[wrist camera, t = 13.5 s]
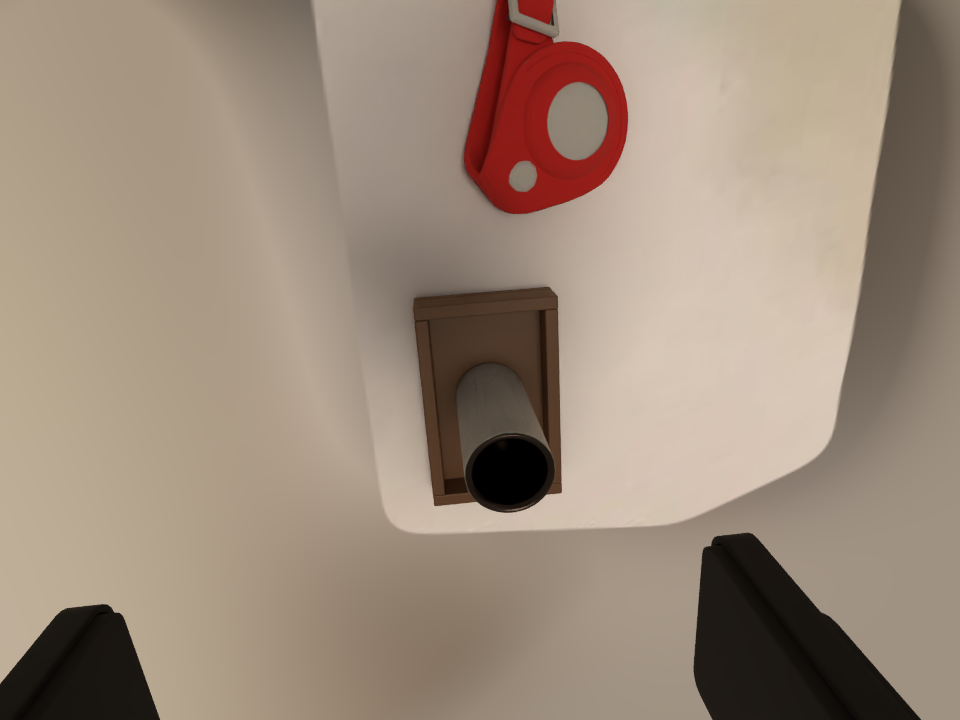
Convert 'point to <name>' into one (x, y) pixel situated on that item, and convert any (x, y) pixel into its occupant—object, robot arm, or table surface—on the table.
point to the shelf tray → (477, 340)
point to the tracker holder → (542, 113)
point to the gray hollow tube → (501, 440)
